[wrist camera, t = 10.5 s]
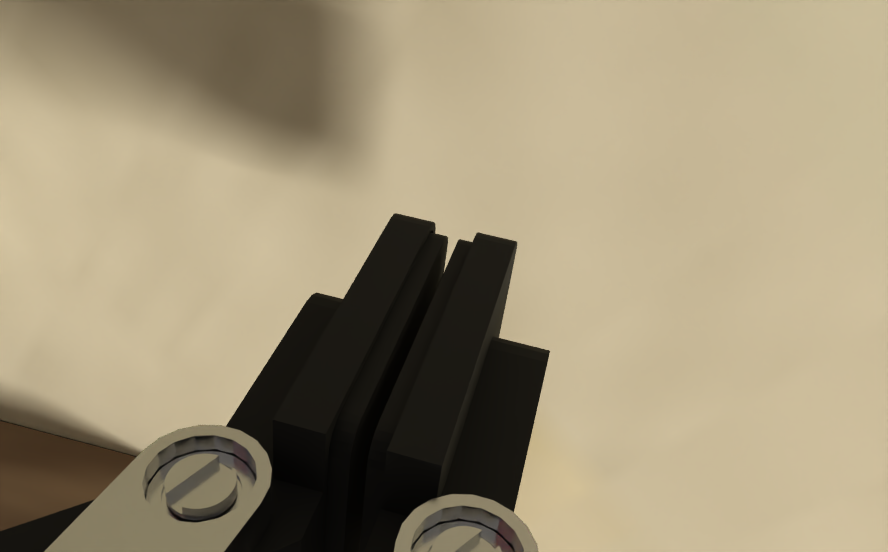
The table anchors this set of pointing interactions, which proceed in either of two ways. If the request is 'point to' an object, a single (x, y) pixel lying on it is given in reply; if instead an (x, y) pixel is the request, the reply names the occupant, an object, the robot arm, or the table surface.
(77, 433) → the table surface
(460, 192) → the table surface
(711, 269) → the table surface
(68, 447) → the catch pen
